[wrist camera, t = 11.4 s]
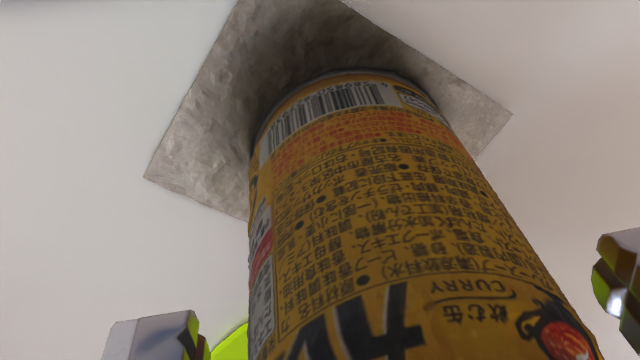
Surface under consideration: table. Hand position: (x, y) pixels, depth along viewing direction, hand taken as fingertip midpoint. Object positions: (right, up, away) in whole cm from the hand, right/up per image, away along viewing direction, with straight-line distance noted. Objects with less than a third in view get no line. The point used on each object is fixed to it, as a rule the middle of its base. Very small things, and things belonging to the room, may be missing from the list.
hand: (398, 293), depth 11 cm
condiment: (-1, +4, +5) cm, 7 cm away
